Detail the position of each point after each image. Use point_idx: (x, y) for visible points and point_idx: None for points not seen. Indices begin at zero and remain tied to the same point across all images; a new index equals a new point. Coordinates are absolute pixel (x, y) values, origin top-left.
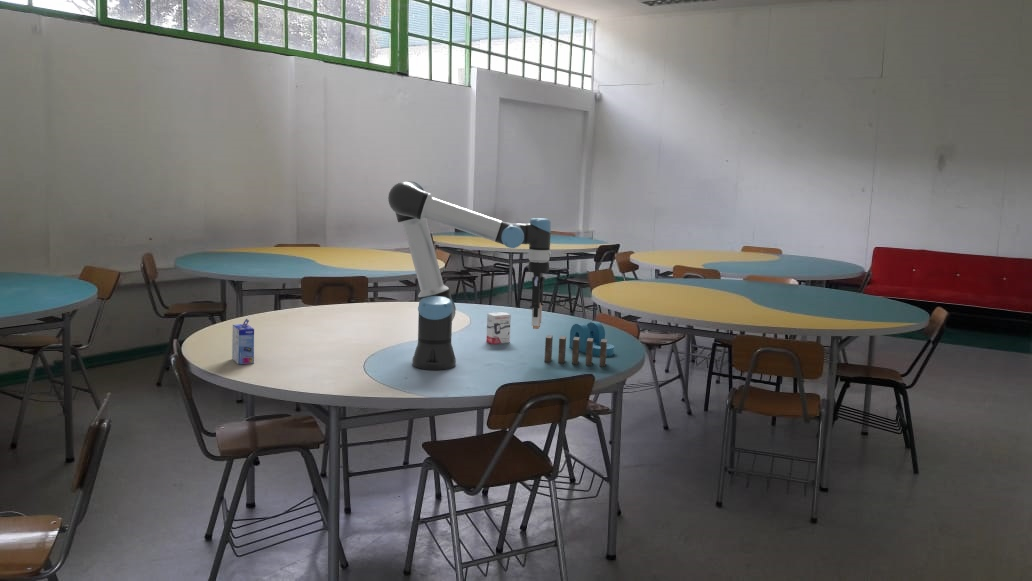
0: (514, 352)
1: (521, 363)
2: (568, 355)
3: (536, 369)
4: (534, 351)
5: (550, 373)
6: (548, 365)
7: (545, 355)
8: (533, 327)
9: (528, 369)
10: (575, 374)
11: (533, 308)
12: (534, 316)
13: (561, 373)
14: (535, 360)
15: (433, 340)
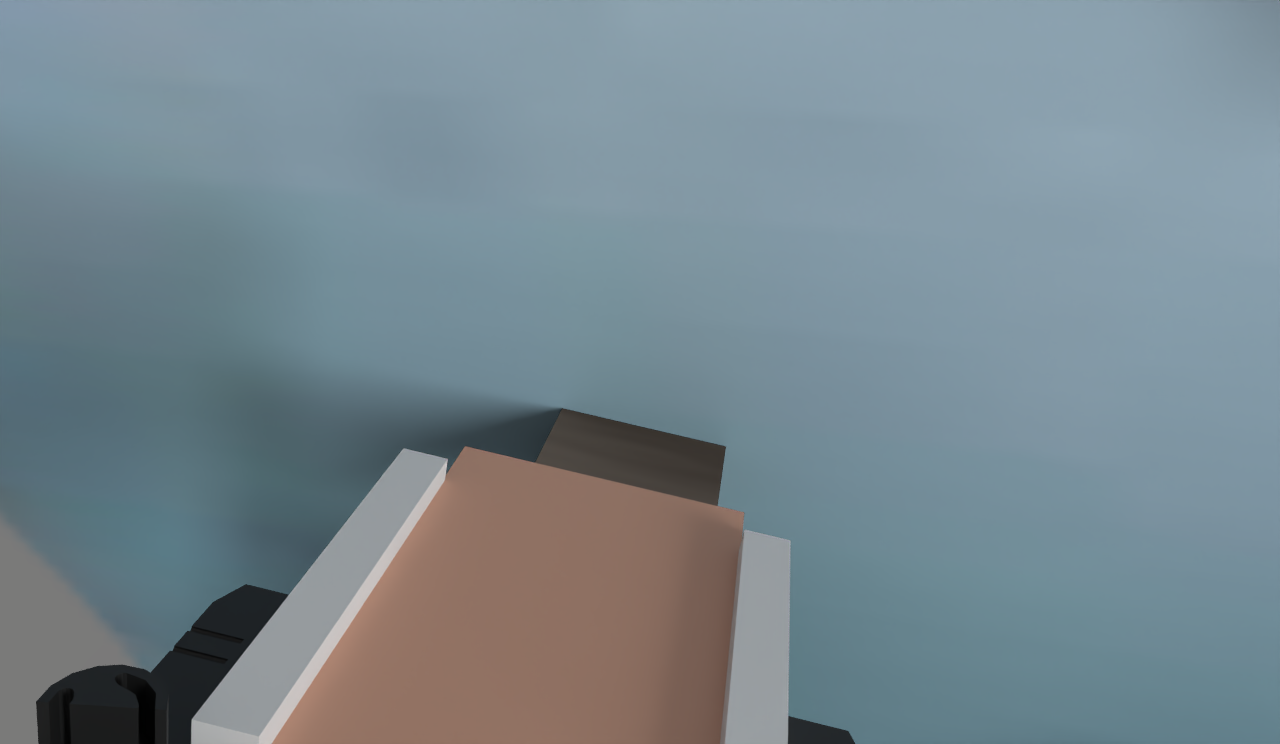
0: (1085, 40)
1: (428, 115)
2: (916, 707)
3: (188, 279)
4: (1146, 344)
5: (72, 409)
6: (401, 431)
7: (541, 451)
8: (454, 469)
9: (160, 185)
10: (116, 629)
11: (200, 741)
12: (224, 617)
13: (109, 514)
14: (617, 308)
15: None
